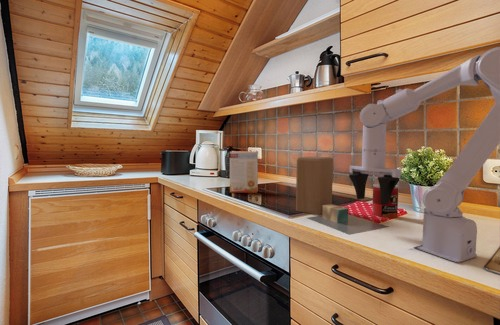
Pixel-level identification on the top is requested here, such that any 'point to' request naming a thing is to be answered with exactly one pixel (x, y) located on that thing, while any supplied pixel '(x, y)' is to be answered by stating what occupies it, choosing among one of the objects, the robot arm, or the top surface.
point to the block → (314, 184)
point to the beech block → (335, 213)
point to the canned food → (386, 209)
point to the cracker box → (243, 172)
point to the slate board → (350, 224)
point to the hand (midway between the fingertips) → (372, 201)
